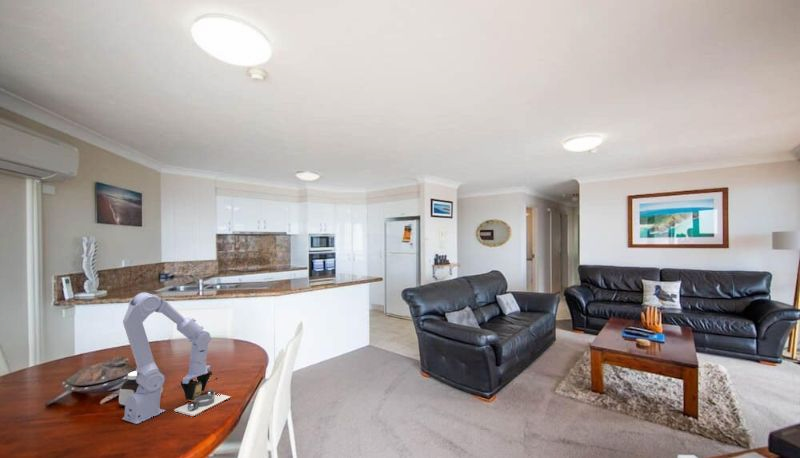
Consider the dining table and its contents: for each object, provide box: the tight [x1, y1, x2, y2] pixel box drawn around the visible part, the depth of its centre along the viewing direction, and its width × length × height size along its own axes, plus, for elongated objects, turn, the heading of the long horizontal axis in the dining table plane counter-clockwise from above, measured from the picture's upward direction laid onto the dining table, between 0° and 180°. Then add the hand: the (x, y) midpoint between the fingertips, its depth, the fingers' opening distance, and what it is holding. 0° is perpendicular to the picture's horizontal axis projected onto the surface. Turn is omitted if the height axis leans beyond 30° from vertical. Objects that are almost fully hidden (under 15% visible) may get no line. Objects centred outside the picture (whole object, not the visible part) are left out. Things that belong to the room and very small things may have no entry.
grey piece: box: [204, 389, 215, 395], centre depth 126 cm, size 3×3×2 cm
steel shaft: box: [187, 401, 199, 411], centre depth 115 cm, size 3×3×2 cm
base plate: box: [173, 392, 231, 416], centre depth 120 cm, size 16×10×3 cm, turn 161°
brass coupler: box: [191, 381, 202, 400], centre depth 125 cm, size 4×4×7 cm
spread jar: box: [118, 370, 164, 408], centre depth 123 cm, size 12×11×12 cm
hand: (195, 394), depth 125 cm, fingers open, 7 cm apart
